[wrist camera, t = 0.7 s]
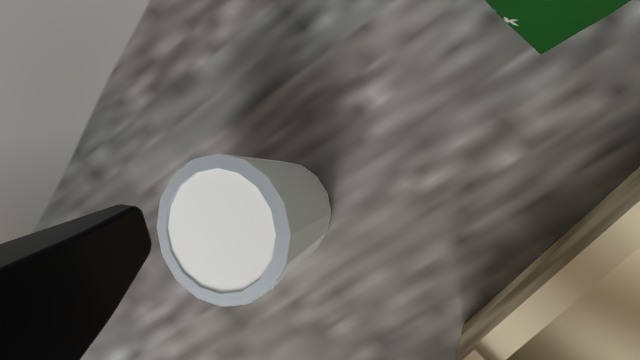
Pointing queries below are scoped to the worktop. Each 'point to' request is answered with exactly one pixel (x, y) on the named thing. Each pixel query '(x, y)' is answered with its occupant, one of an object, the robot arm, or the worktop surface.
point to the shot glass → (239, 225)
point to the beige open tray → (571, 293)
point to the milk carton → (552, 18)
